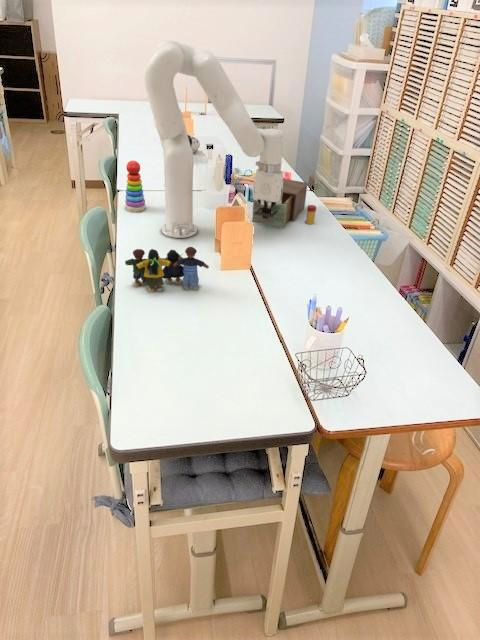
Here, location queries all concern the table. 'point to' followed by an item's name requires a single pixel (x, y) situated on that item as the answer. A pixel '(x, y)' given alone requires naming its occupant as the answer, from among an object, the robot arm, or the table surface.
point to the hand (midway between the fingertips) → (265, 217)
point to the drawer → (274, 212)
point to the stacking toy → (134, 188)
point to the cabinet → (295, 195)
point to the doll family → (165, 268)
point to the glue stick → (310, 214)
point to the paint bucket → (193, 143)
